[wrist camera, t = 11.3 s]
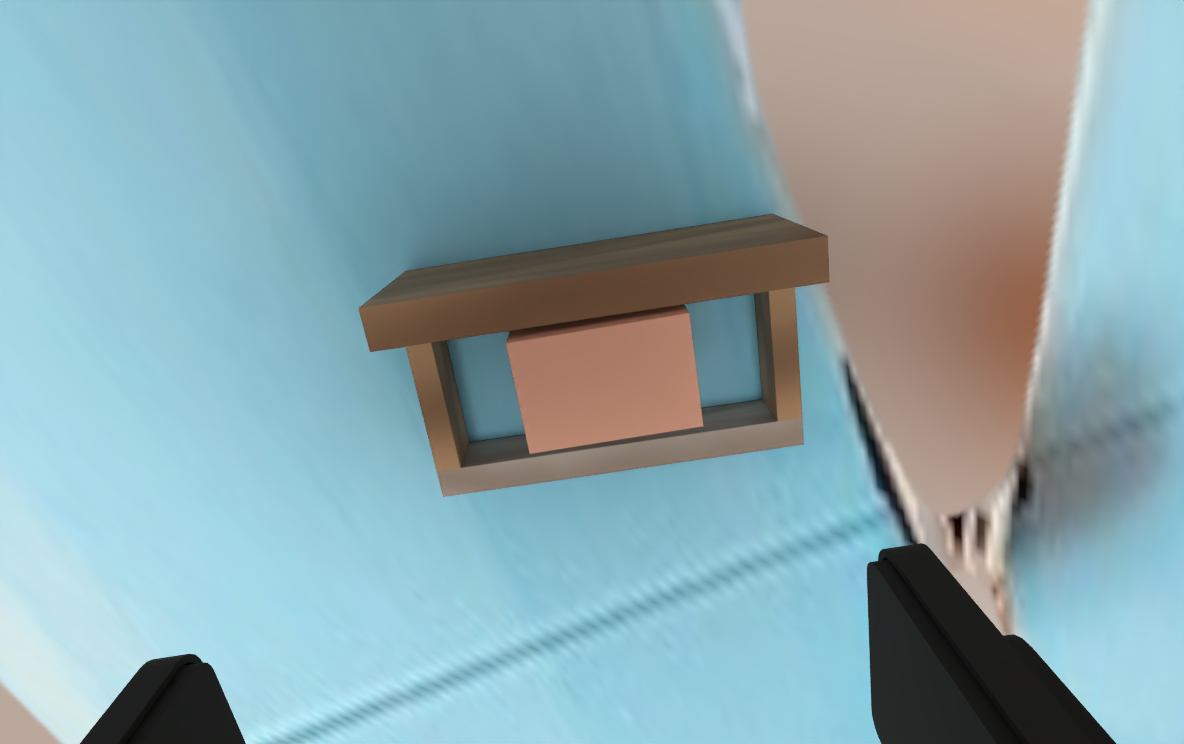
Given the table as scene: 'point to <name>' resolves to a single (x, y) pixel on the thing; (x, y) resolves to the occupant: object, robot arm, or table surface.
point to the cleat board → (595, 289)
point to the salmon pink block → (605, 378)
